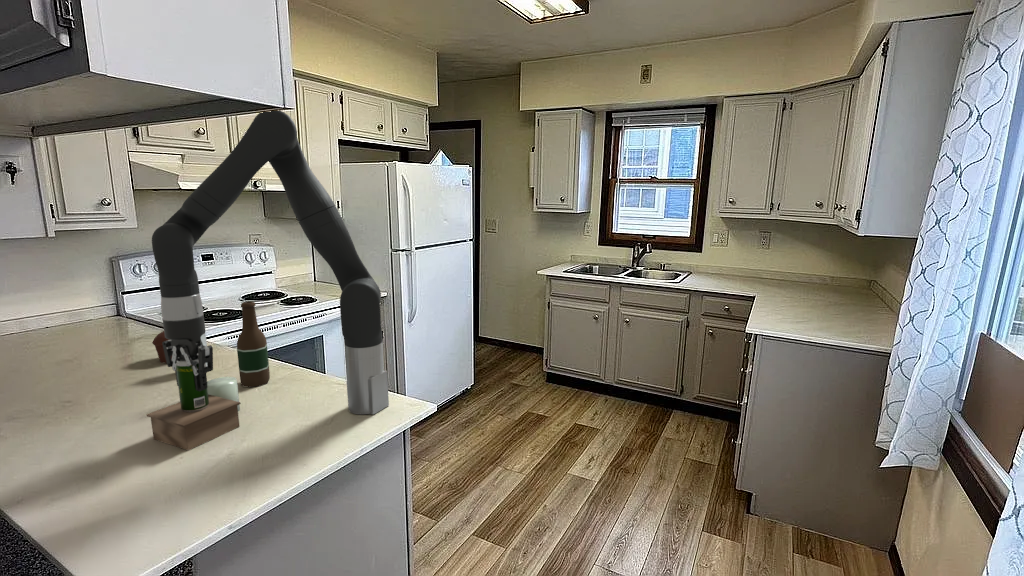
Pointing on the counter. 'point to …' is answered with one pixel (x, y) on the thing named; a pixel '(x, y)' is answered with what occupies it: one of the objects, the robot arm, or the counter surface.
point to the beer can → (190, 389)
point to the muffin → (160, 346)
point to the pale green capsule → (224, 388)
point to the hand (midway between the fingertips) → (192, 387)
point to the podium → (194, 423)
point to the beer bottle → (252, 350)
